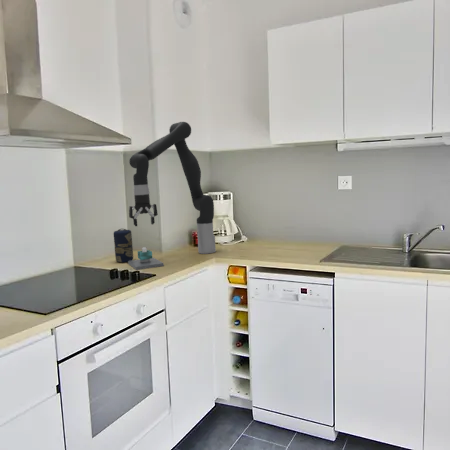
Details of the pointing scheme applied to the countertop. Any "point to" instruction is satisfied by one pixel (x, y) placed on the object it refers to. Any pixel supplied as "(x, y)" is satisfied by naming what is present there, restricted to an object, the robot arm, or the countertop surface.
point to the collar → (145, 255)
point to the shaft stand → (145, 262)
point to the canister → (123, 245)
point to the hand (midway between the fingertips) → (144, 225)
